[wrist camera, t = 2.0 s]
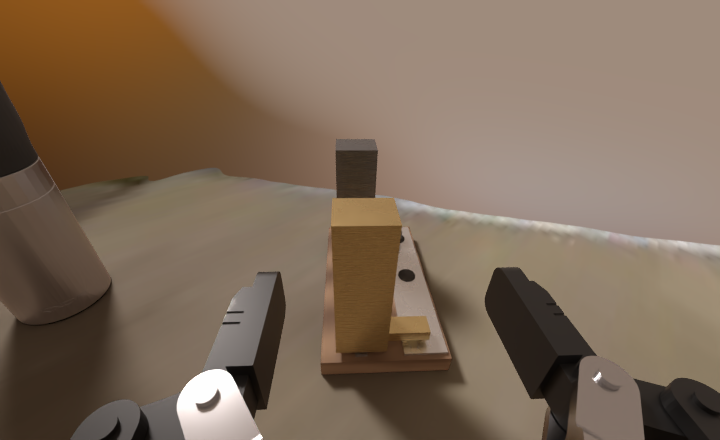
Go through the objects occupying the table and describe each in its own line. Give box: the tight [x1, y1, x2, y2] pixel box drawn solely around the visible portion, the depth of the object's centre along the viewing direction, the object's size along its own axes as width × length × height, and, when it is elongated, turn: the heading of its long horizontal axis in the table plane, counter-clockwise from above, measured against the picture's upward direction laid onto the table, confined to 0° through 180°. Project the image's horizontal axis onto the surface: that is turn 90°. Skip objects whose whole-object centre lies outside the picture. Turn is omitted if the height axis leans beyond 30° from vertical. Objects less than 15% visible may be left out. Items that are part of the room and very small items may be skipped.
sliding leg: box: [331, 198, 431, 353], centre depth 27 cm, size 4×10×15 cm, turn 93°
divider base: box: [321, 139, 452, 374], centre depth 36 cm, size 23×13×17 cm, turn 3°
